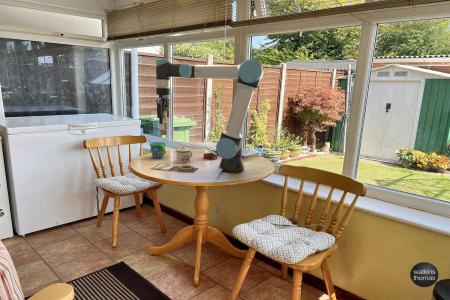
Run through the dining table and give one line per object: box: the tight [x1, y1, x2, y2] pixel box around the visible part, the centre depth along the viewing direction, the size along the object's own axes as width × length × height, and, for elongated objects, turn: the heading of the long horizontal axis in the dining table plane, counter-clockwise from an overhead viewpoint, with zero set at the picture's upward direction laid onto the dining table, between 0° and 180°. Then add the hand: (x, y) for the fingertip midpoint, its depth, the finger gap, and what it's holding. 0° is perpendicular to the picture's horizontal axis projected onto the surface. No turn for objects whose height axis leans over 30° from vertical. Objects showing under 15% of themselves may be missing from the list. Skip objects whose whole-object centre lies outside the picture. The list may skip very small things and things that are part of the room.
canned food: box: [203, 146, 218, 161], centre depth 213 cm, size 11×10×10 cm
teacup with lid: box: [175, 145, 193, 164], centre depth 197 cm, size 12×9×12 cm
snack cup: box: [149, 141, 167, 159], centre depth 210 cm, size 16×10×10 cm
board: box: [150, 163, 200, 174], centre depth 178 cm, size 26×12×3 cm, turn 78°
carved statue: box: [159, 107, 171, 136], centre depth 174 cm, size 7×4×15 cm, turn 78°
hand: (163, 129), depth 175 cm, fingers closed on carved statue, 4 cm apart
